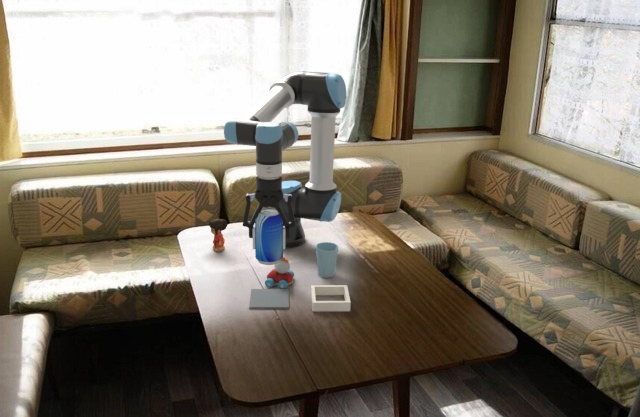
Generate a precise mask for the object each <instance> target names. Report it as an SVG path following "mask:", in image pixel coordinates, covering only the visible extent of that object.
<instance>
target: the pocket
mask: <svg viewBox="0 0 640 417" xmlns="http://www.w3.org/2000/svg"><path fill="white" fill-rule="evenodd" d="M310 286H311V288H310V295H311V309H312V312H351V305H352V304H351V303H352V301H351V298H350V293H349V288H348V287H349V286H348V285H347V284H345V285H344V284H343V285H342V284H341V285H340V284H338V285H334V284H331V285H329V284H325V285H322V284H321V285H320V284H319V285H318V284H317V285H313V284H311V285H310ZM316 296H343V298H344V300H316Z"/></svg>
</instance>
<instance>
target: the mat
mask: <svg viewBox="0 0 640 417" xmlns="http://www.w3.org/2000/svg"><path fill="white" fill-rule="evenodd" d="M289 290H290V289H289V288H286V289H280V288H251V290H250V298H249V310H253V309H254V310H267V309H268V310H273V309H274V310H279V309H280V310H288V309H290V301H289V300H290V299H289V294H290V292H289Z"/></svg>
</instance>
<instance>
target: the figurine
mask: <svg viewBox="0 0 640 417" xmlns="http://www.w3.org/2000/svg"><path fill="white" fill-rule="evenodd" d="M208 225H209V228H210V232H211V234H213V235H214V236H213V241H212V244H213V246H212V250H213V251H214V252H217V253H218V252H222V251H224V250H226V248H225V247H226V246H225V245H224V244H225V237H224V235H223V233H222V231H225V230H226V229H227V227H228V220H227V219H224V218H222V219H221V218H215V219H211V220H210V221H209V222H208Z"/></svg>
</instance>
